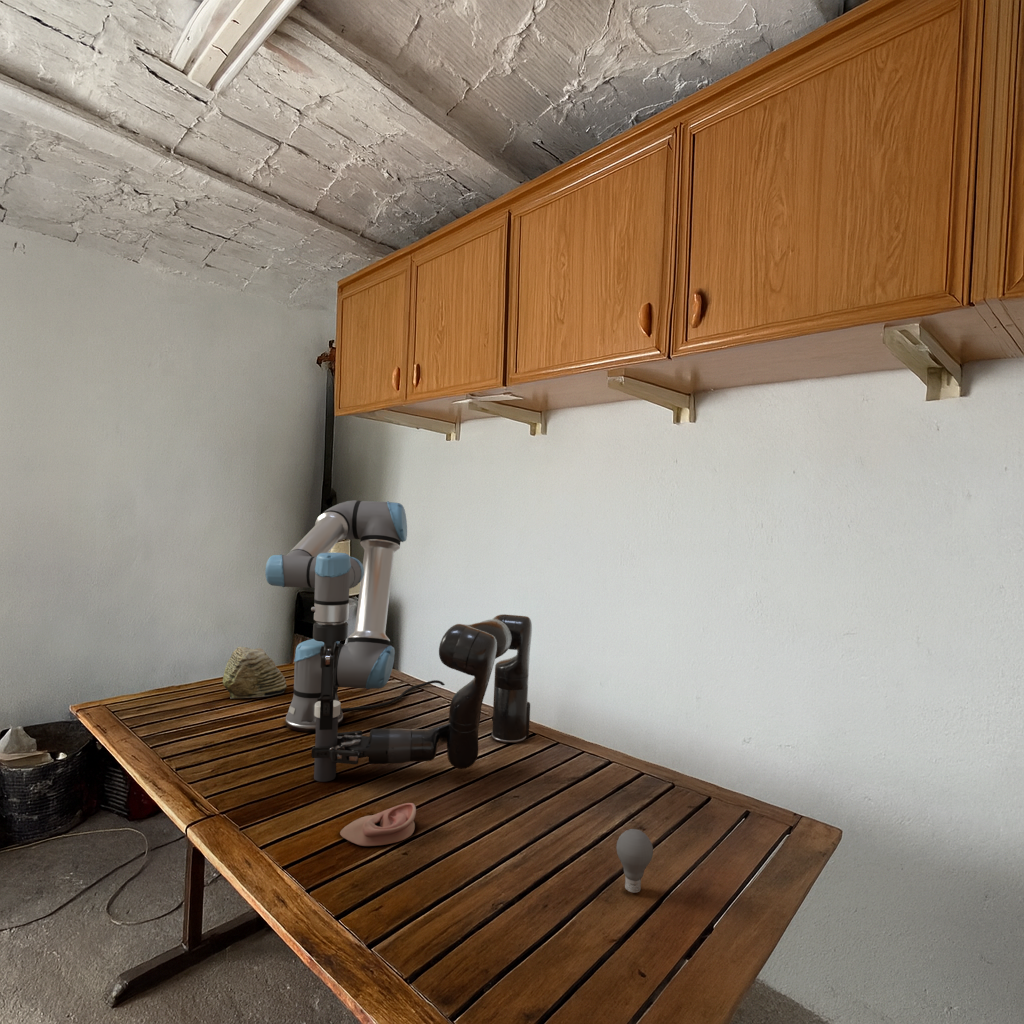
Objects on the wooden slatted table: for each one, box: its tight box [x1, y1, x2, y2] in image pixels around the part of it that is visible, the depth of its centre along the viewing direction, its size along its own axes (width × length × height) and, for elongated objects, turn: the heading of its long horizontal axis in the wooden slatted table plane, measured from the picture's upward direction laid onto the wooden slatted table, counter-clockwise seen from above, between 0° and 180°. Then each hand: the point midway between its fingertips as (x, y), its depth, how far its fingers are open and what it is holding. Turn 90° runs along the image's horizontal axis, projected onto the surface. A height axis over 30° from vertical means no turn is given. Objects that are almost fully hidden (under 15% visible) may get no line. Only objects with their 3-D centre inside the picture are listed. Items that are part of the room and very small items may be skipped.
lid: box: [314, 700, 342, 718], centre depth 143 cm, size 6×6×2 cm
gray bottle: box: [313, 716, 339, 783], centre depth 143 cm, size 5×5×16 cm
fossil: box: [222, 646, 288, 699], centre depth 198 cm, size 9×18×15 cm, turn 132°
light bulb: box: [615, 828, 654, 894], centre depth 106 cm, size 6×6×10 cm
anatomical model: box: [339, 802, 417, 847], centre depth 121 cm, size 13×4×12 cm
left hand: (326, 723), depth 143 cm, fingers closed on lid, 6 cm apart
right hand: (313, 747), depth 142 cm, fingers closed on gray bottle, 4 cm apart
